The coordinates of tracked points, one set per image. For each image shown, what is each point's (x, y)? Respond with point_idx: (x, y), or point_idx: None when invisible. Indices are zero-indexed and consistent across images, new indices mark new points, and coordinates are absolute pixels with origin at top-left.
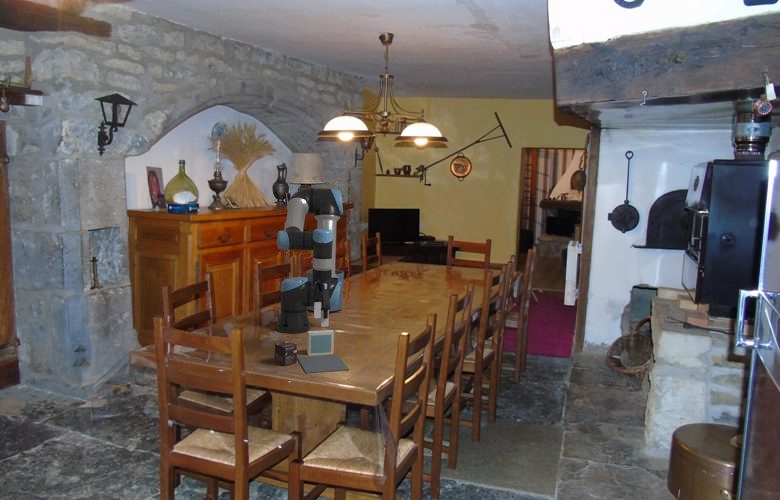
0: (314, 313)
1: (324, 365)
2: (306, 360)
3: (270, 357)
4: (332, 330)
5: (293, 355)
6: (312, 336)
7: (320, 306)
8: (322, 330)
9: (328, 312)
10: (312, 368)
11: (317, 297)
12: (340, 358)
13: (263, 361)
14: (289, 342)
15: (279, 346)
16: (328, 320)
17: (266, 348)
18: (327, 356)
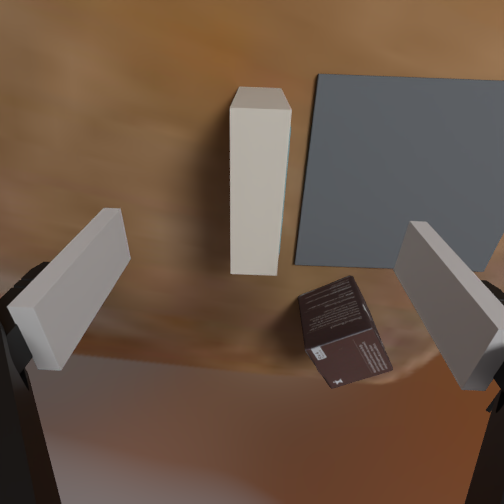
0: (114, 283)
1: (450, 189)
2: (350, 241)
3: (258, 332)
4: (245, 109)
5: (366, 308)
6: (279, 246)
7: (67, 278)
8: (230, 185)
9: (501, 308)
10: (457, 242)
11: (36, 423)
12: (393, 78)
13: (293, 352)
14: (329, 346)
15: (360, 377)
16: (452, 251)
17: (152, 328)
18: (332, 140)
